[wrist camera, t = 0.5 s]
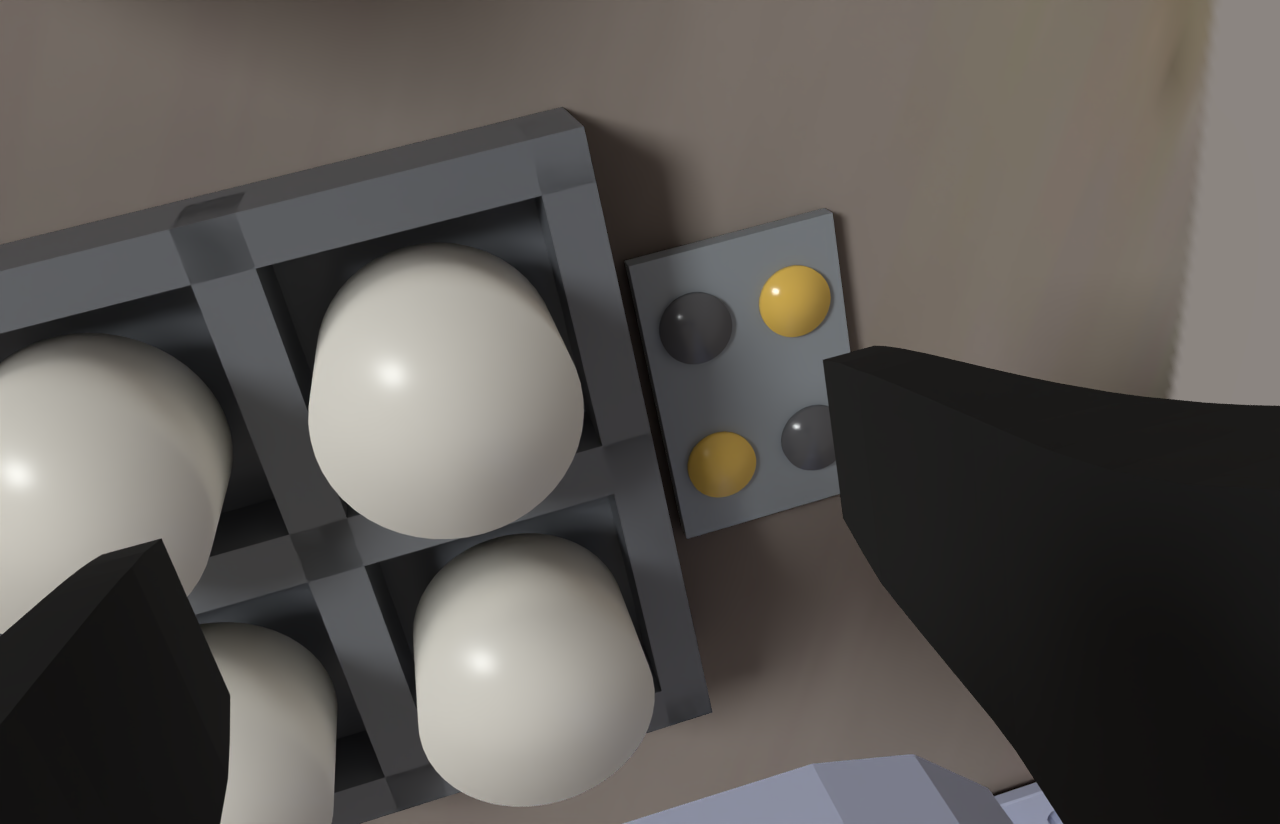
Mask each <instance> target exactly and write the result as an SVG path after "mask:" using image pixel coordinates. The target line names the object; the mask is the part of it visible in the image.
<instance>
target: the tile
mask: <svg viewBox="0 0 1280 824" xmlns="http://www.w3.org/2000/svg"><path fill="white" fill-rule="evenodd" d="M624 262H625V266H626V271H627V276H628V280H629V285H630V290H631V294H632V299H633V304H634V308H635V313H636V318H637V322H638V327H639V332H640V336H641V341H642V346H643V350H644V355H645V360H646V364H647V369H648V373H649V378H650V383H651V387H652V392H653V397H654V401H655V406H656V411H657V415H658V420H659V425H660V429H661V434H662V439H663V443H664V448H665V453H666V457H667V462H668V467H669V471H670V476H671V480H672V485H673V490H674V494H675V499H676V504H677V508H678V513H679V518H680V522H681V527H682V531H683V532H684V534H685V536H686V538H687V539H689V538H692V537H696V536H699V535H702V534H706V533H709V532H713V531H716V530H719V529H723V528H726V527H729V526H733V525H736V524H740V523H743V522H746V521H750V520H753V519H757V518H760V517H763V516H767V515H770V514H773V513H777V512H780V511H784V510H787V509H790V508H794V507H797V506H800V505H804V504H807V503H811V502H814V501H817V500H821V499H824V498H828V497H831V496H834V495H838V494H840V489H839V482H838V474H837V466H836V459H835V451H834V443H833V436H832V428H831V420H830V413H829V405H828V397H827V390H826V382H825V374H824V367H823V360H824V359H827V358H831V357H835V356H839V355H842V354H846V353H850V345H849V338H848V330H847V322H846V314H845V306H844V299H843V291H842V283H841V275H840V267H839V260H838V252H837V244H836V236H835V228H834V221H833V213H832V212H830V211H829V210H827V209H825V208H823V209H819V210H815V211H812V212H808V213H804V214H800V215H796V216H793V217H789V218H785V219H781V220H777V221H774V222H770V223H766V224H762V225H758V226H755V227H751V228H747V229H743V230H740V231H736V232H732V233H728V234H724V235H721V236H717V237H713V238H709V239H705V240H702V241H698V242H694V243H690V244H686V245H683V246H679V247H675V248H671V249H667V250H664V251H660V252H656V253H652V254H649V255H645V256H641V257H637V258H633V259H630V260H626V261H624Z"/></svg>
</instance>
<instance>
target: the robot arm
mask: <svg viewBox="0 0 1280 824" xmlns="http://www.w3.org/2000/svg"><path fill="white" fill-rule="evenodd" d="M823 367H824V374H825V382H826V390H827V397H828V405H829V413H830V420H831V428H832V436H833V443H834V451H835V459H836V466H837V474H838V482H839V489H840V497H841V505H842V512H843V519H844V520H845V522H846V524H847V526H848V527H849V529H850V531H851V533H852V534H853V536H854V538H855V540H856V542H857V543H858V545H859V547H860V549H861V550H862V552H863V554H864V556H865V557H866V559H867V560H868V562H869V564H870V565H871V567H872V569H873V570H874V572H875V574H876V575H877V577H878V579H879V580H880V582H881V583H882V585H883V586H884V587H885V589H886V590H887V591H888V592H889V594H890V595H891V596H892V597H893V599H894V600H895V601H896V602H897V604H898V605H899V606H900V607H901V609H902V610H903V611H904V612H905V614H906V615H907V616H908V617H909V619H910V620H911V621H912V622H913V623H914V625H915V626H916V627H917V628H918V630H919V631H920V632H921V633H922V635H923V636H924V637H925V638H926V639H927V641H928V642H929V643H930V644H931V645H932V647H933V648H934V649H935V650H936V652H937V653H938V654H939V655H940V656H941V658H942V659H943V660H944V661H945V662H946V664H947V665H948V666H949V667H950V669H951V670H952V671H953V672H954V673H955V675H956V676H957V677H958V678H959V679H960V681H961V682H962V683H963V684H964V686H965V687H966V688H967V689H968V690H969V692H970V693H971V694H972V695H973V696H974V698H975V699H976V700H977V701H978V703H979V704H980V705H981V706H982V707H983V709H984V710H985V711H986V712H987V713H988V715H989V716H990V717H991V718H992V720H993V721H994V722H995V724H996V725H997V726H998V728H999V729H1000V730H1001V732H1002V733H1003V734H1004V736H1005V737H1006V738H1007V740H1008V741H1009V742H1010V744H1011V745H1012V746H1013V748H1014V749H1015V750H1016V752H1017V753H1018V755H1019V756H1020V758H1021V759H1022V761H1023V762H1024V764H1025V765H1026V767H1027V769H1028V770H1029V772H1030V773H1031V775H1032V776H1033V778H1034V779H1035V781H1036V782H1035V783H1032V784H1029V785H1026V786H1023V787H1020V788H1017V789H1014V790H1011V791H1008V792H1005V793H1002V794H999V795H996V796H993V794H992V793H991V792H990V790H989V789H988V788H987V787H985V786H982V785H980V784H978V783H976V782H974V781H971V780H969V779H967V778H965V777H963V776H960V775H958V774H956V773H954V772H952V771H950V770H947V769H945V768H943V767H941V766H939V765H936V764H934V763H932V762H930V761H928V760H925V759H923V758H921V757H919V756H917V755H914V754H909V755H898V756H888V757H878V758H867V759H857V760H847V761H837V762H826V763H816V764H810V765H807V766H804V767H801V768H798V769H794V770H791V771H788V772H785V773H782V774H779V775H775V776H772V777H769V778H766V779H763V780H760V781H756V782H753V783H750V784H747V785H744V786H740V787H737V788H734V789H731V790H728V791H725V792H721V793H718V794H715V795H712V796H709V797H706V798H702V799H699V800H696V801H693V802H690V803H687V804H683V805H680V806H677V807H674V808H671V809H668V810H664V811H661V812H658V813H655V814H652V815H649V816H645V817H642V818H639V819H636V820H633V821H630V822H626V823H623V824H1280V406H1262V405H1260V406H1258V405H1234V404H1216V403H1202V402H1192V401H1182V400H1172V399H1161V398H1151V397H1141V396H1134V395H1127V394H1119V393H1112V392H1106V391H1100V390H1094V389H1089V388H1083V387H1077V386H1072V385H1066V384H1060V383H1055V382H1050V381H1045V380H1040V379H1035V378H1030V377H1026V376H1021V375H1017V374H1012V373H1007V372H1003V371H999V370H994V369H990V368H986V367H981V366H977V365H973V364H969V363H965V362H960V361H956V360H952V359H948V358H943V357H939V356H935V355H930V354H926V353H921V352H916V351H911V350H907V349H901V348H895V347H887V346H872V347H868V348H864V349H861V350H857V351H853V352H850V353H846V354H842V355H839V356H835V357H831V358H827V359H824V360H823ZM229 749H230V693H229V691H228V689H227V686H226V684H225V682H224V680H223V677H222V675H221V673H220V670H219V668H218V666H217V664H216V661H215V659H214V657H213V654H212V652H211V650H210V648H209V645H208V643H207V641H206V638H205V636H204V634H203V632H202V629H201V627H200V625H199V623H198V620H197V618H196V616H195V613H194V611H193V609H192V607H191V604H190V602H189V600H188V597H187V595H186V593H185V591H184V588H183V586H182V584H181V581H180V579H179V577H178V575H177V572H176V570H175V568H174V565H173V563H172V561H171V559H170V556H169V554H168V552H167V550H166V547H165V545H164V543H163V540H162V538H161V539H157V540H154V541H150V542H146V543H143V544H139V545H135V546H131V547H128V548H124V549H120V550H117V551H113V552H109V553H106V554H102V555H100V556H98V557H97V558H95V559H94V560H92V561H90V562H89V563H87V564H86V565H84V566H83V567H82V568H80V569H79V570H78V571H76V572H75V573H74V574H72V575H71V576H70V577H69V578H67V579H66V580H65V581H64V582H63V583H61V584H60V585H59V586H58V587H56V588H55V589H54V590H53V591H52V592H51V593H49V594H48V595H47V596H46V597H45V598H44V599H42V600H41V601H40V602H39V603H38V604H37V605H35V606H34V607H33V608H32V609H31V610H30V611H29V612H27V613H26V614H25V615H24V616H23V617H22V618H20V619H19V620H18V621H17V622H16V623H15V624H14V625H12V626H11V627H10V628H9V629H8V630H7V631H5V632H4V633H3V634H2V635H1V636H0V824H220V822H221V817H222V811H223V806H224V800H225V794H226V788H227V782H228V772H229Z"/></svg>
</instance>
